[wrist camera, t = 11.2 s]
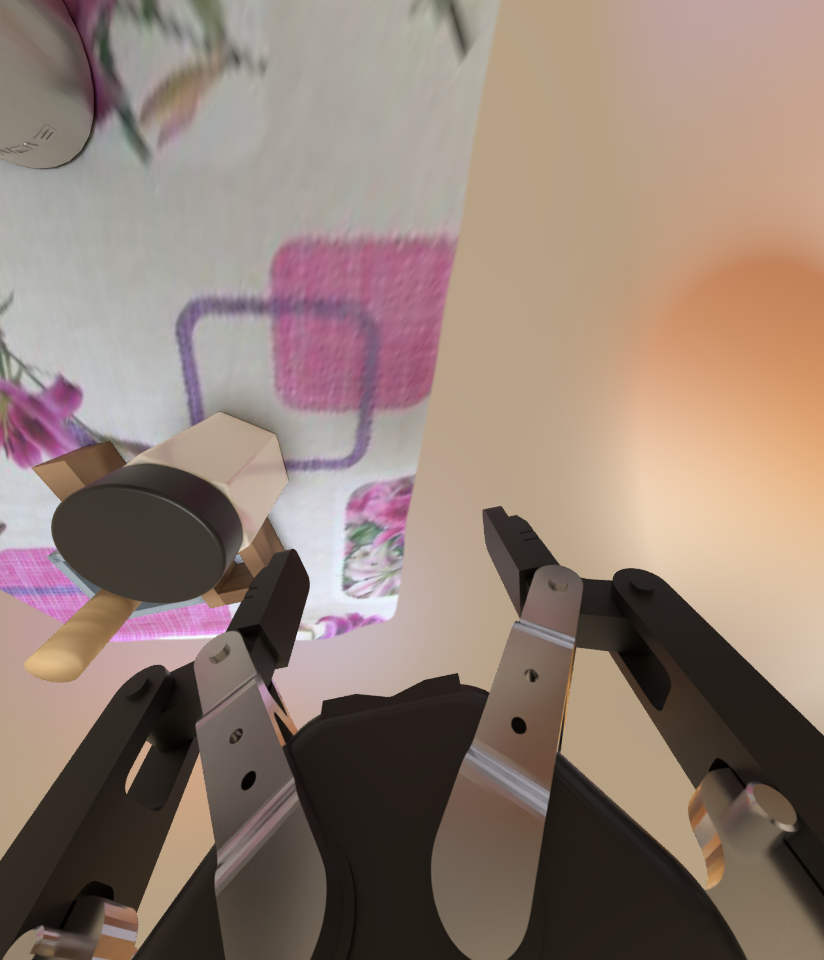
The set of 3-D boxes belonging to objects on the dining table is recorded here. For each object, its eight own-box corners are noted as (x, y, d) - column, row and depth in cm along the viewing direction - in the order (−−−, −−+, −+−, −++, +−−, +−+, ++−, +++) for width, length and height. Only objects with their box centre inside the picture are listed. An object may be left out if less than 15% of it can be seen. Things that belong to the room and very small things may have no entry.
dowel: (122, 558, 29) (12, 661, 20) (154, 552, 29) (57, 652, 20) (142, 581, 31) (48, 686, 22) (173, 575, 31) (90, 677, 22)
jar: (174, 479, 27) (37, 581, 16) (191, 397, 24) (36, 455, 13) (276, 513, 29) (215, 621, 18) (302, 443, 26) (249, 523, 15)
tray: (72, 538, 28) (46, 556, 26) (174, 517, 28) (156, 533, 26) (132, 601, 32) (114, 622, 30) (220, 582, 32) (208, 601, 30)
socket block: (194, 526, 29) (168, 554, 25) (264, 511, 29) (248, 537, 25) (229, 577, 32) (210, 608, 29) (291, 563, 32) (280, 593, 29)
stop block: (81, 447, 24) (31, 467, 21) (109, 441, 24) (64, 460, 21) (135, 515, 28) (99, 543, 24) (159, 510, 28) (127, 537, 24)
